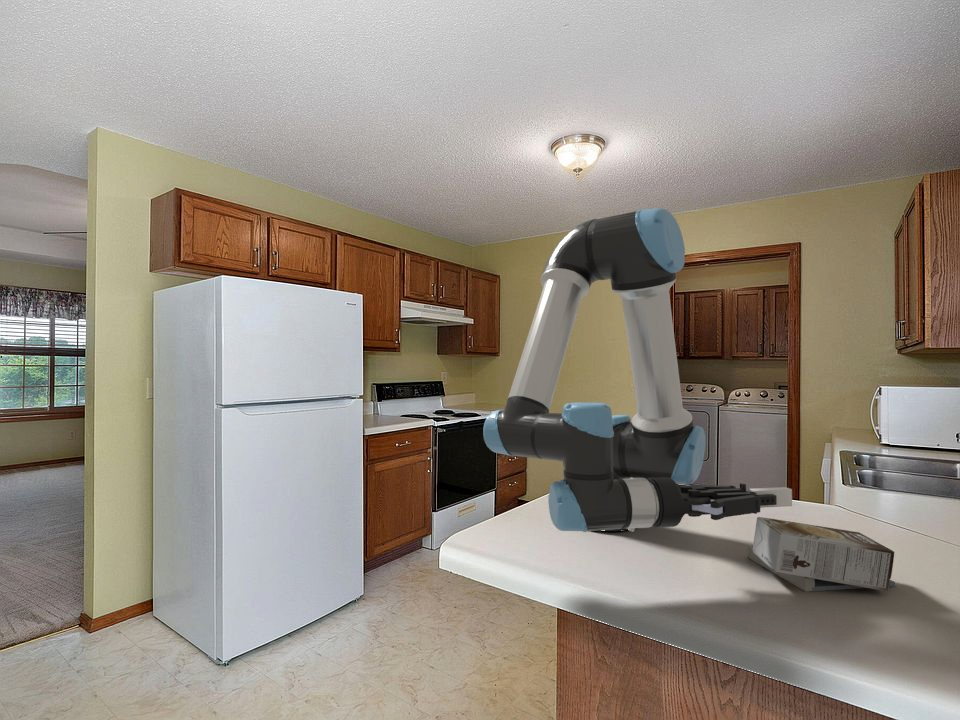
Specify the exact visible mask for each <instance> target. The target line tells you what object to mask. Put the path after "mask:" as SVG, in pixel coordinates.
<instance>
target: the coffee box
mask: <svg viewBox="0 0 960 720" xmlns="http://www.w3.org/2000/svg"><path fill="white" fill-rule="evenodd" d="M754 531H755V532H754V538H753V545H752V546H753V550H752V551H753V553H754V554H756V555H757V556H758V557H759V558H760V559H761V560H762V561H763V562H764V563H765V564H767V565H768V566H769V567H770V568H771V569H772V570H773V571H774V572H778V573H784V574H790V575H796V576H802V577H808V578H814V579H819V580H825V581H831V582H836V583H842V584H848V585H853V586H859V587H865V588H864V589H872V590H877V591H883V592H888V591H889V587H890V586H889V580H892V579H891V578H892V574H893V566H894V559H895V551H894V550H892V549H890V548H888V547H886V546H885V545H883V544H881V543H880V542H877V541H875V540H873V539H872V538H870V537H868V536H866V535H865V534H863V533H861V532H859V531H853V530H852V531H851V530H846V529H839V528H834V527H827V526H821V525H815V524H814V525H813V524H808V523H802V522H795V521H789V520H788V521H787V520H782V519H775V518H771V517H770V518H769V517H763V516H762V517H761V516H757V517H756V523H755V530H754Z"/></svg>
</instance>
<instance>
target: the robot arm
mask: <svg viewBox="0 0 960 720" xmlns="http://www.w3.org/2000/svg"><path fill="white" fill-rule="evenodd" d="M683 237H684V236H683V234H682V231H681V228H680V225H679V223H678V221H677V219H676V218H675V216H674V215H673V214H672V213H671V212H670V211H669V210H668V209H665V208H663V207H655V208H647V209H646V208H645V209H641V208H640V209H639V210H636V211H634V210H633V211H631V212H630V211H629V212H625V213H621V214H615V215H611V216H606V217H601V218H593V219H589V220H587V221H586V220H585V221H584V222H581V223H580V224H578V225H576V226H575V227H574V228H572V229H571V230H570V231H569V232H568V233H567V234H565V236H563V237H562V239H561V240H560V241H559V242H558V243H557V244H556V246H555V247H554V248H553V250H552V252H551V253H550V255H549V257H548V258H547V261H546V263H545V265H544V267H543V271H542V274H541V276H540V284H541V287H542V291H541V292H540V293H541V294H540V297H539V300H538V303H537V306H536V309H535V311H534V316H533V318H532V322H531V325H530V328H529V330H528V331H529V332H528V334H527V336H526V340H525V343H524V347H523V349H522V353H521V357H520V360H519V363H518V366H517V369H516V373H515V375H514V378H513V381H512V384H511V387H510V391H509V394H508V397H507V400H506V402H505V406H504V409H498V410H493V411H491V412H490V414H489V415H488V416H487V417H486V419H485V421H484V423H483V429H482V430H483V433H482V435H483V441H484V443H485V444H486V447H487V448H488V449H489V450H490V451H491V452H493V453H496V454H500V455H506V456H510V457H512V458H513V457H519V458H521V457H522V458H531V459H532V458H533V459H540V460H546V461H553V462H562V464H563V479H559V480H557V481H556V480H555V481H553V482H552V483H551V484H550V485H549V490H548V509H549V510H548V511H549V515H550V519H551V521H552V524H553V526H555V528H556V529H557V530H559V531H563V532H582V533H587V532H598V531H597V530H605V531H621V530H628V529H629V530H628V532H631V533H632V532H635V531H636V529H647V528H651V527H652V528H656V529H657V528H673V527H677V526H678V525H679V524H681V521H682V520H683V517H684V516H685V515H688V516H689V517H690V518H691V517H692V518H693V517H698V518H699V517H701V516H703V515H704V516H705V515H710V519H711V520H713V521H719V520H722V519H724V518H728V517H729V518H730V517H736V516H742V515H743V516H744V515H750V514H751V515H752V514H755V515H757V514H758V513H761V509H762V508H781V507H786V508H787V507H793V488H789V487H787V486H781V487H760V488H759V487H758V488H757V487H756V488H755V487H754V488H747V484H746V483H739V487H736V486H735V485H733V484H732V485H709V484H708V485H706V484H705V485H702V484H700V485H699V484H696V485H695V484H693V483H694V482H695V481H697V479H698V478H699V476H700V473H701V471H702V467H703V463H704V459H705V452H706V438H707V437H706V431H705V430H704V428H703V427H702V426H699V425H694V422H693V421H694V420H693V415H692V413H691V412H690V411H688V410H687V409H685V408H684V407H683V397H682V390H681V389H682V388H681V381H680V372H679V363H678V357H677V355H678V354H677V350H676V349H677V348H676V341H675V332H674V324H673V322H674V321H673V315H672V305H671V299H670V289H671V287H673V286H674V284H675V283H676V281H677V275H676V273H678V272H680V271H682V269H683V268H684V266H685V262H686V257H685V254H686V248H685V241H684V238H683ZM606 280H607V281H608V280H610V286H611V290H612V292H613V293H615V294H616V295H618V296H619V297H620V298H621V304H622V311H623V318H624V324H625V332H626V333H625V334H626V339H627V344H628V345H627V346H628V353H629V358H630V367H631V374H632V380H633V388H634V395H635V402H636V407H637V412H636V414H634V416H633V417H632V418H631V417H630V415H628V414H616V415H612V414H613V413H612V412H613V411H612V408H611V406H609V405H608V404H606V403H603V402H593V401H591V402H589V401H588V402H585V401H584V402H583V401H582V402H580V401H579V402H567V403H565V404H564V405H563V407H562V412H561V413H559V412H556V413H555V412H554V413H552V412H551V413H550V409H551V406H552V402H553V400H554V399H553V398H554V395H555V392H556V389H557V385H558V381H559V378H560V374H561V371H562V367H563V364H564V360H565V357H566V354H567V353H566V352H567V350H568V345H569V342H570V339H571V336H572V332H573V329H574V326H575V323H576V319H577V315H578V311H579V308H580V304H581V301H582V299H583V298H585V297H587V296H588V294H589V292H590V289H591V286H592V284H594V283H595V282H597V281H606ZM621 532H622V531H621Z"/></svg>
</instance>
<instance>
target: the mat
mask: <svg viewBox="0 0 960 720" xmlns="http://www.w3.org/2000/svg"><path fill="white" fill-rule="evenodd" d="M747 548H748V549H747V554H748V555H747V558H748V559H750V560H751V561H753V562H755V563H756V564H757V565H760V566H762V567H763V568H765V569H767V570H768V571H770V572H771V573H773V574H775V575H777V576H778V577H780V578H781V579H784V580H785V581H786V582H788V583H790V584H791V585H794V586H795V587H797V588H799V589H800V590H802V591H804V592H806V593H807V592H820V591H823V592H824V591H838V590H852V589H853V590H855V589H866V588H865V587H859V586H853V585H848V584H842V583H836V582H831V581H825V580H819V579H814V578H808V577H802V576H796V575H790V574H784V573H778V572H774V571H773V570H772V569H771V568H770V567H769V566H768V565H767V564H765V563H764V562H763V561H762V560H761V559H760V558H759V557H758V556H757V555H756V554H754V553H753V551H752V550H753V545H751V546H750V545H748V546H747ZM889 587H896V581H894V580H892V579H890V580H889Z"/></svg>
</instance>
